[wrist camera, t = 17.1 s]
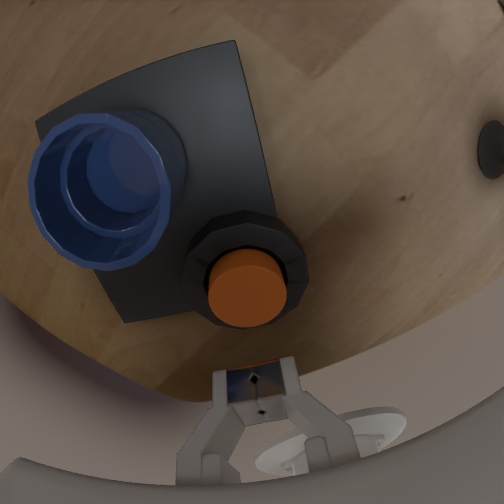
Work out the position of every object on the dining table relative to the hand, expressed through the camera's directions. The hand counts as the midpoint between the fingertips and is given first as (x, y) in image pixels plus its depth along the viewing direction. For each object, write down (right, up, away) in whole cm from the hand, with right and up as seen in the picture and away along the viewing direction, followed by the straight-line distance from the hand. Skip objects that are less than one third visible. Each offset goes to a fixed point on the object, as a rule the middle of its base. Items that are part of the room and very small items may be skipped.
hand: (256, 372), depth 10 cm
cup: (-7, +9, +4) cm, 12 cm away
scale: (-5, +8, +6) cm, 11 cm away
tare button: (-1, +3, +6) cm, 7 cm away
